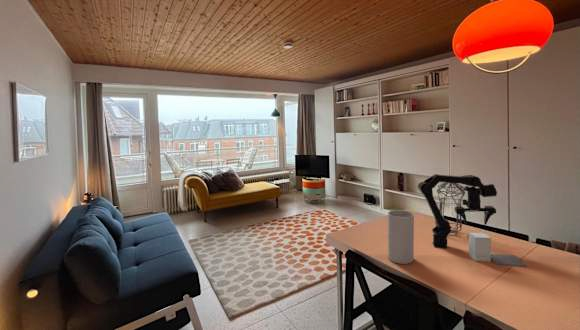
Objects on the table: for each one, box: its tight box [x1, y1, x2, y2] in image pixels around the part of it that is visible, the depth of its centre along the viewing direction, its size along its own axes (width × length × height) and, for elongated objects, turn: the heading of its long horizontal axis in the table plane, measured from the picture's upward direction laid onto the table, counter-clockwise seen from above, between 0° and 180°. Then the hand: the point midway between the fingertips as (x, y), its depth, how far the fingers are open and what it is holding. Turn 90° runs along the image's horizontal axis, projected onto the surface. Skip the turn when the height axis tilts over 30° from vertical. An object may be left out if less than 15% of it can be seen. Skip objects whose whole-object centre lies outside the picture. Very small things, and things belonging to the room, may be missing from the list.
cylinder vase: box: [387, 209, 415, 265], centre depth 144 cm, size 12×12×25 cm
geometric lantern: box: [435, 182, 466, 237], centre depth 174 cm, size 16×16×35 cm
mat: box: [491, 253, 528, 268], centre depth 139 cm, size 13×11×1 cm
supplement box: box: [468, 232, 492, 263], centre depth 141 cm, size 7×7×13 cm
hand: (475, 224), depth 154 cm, fingers open, 9 cm apart
